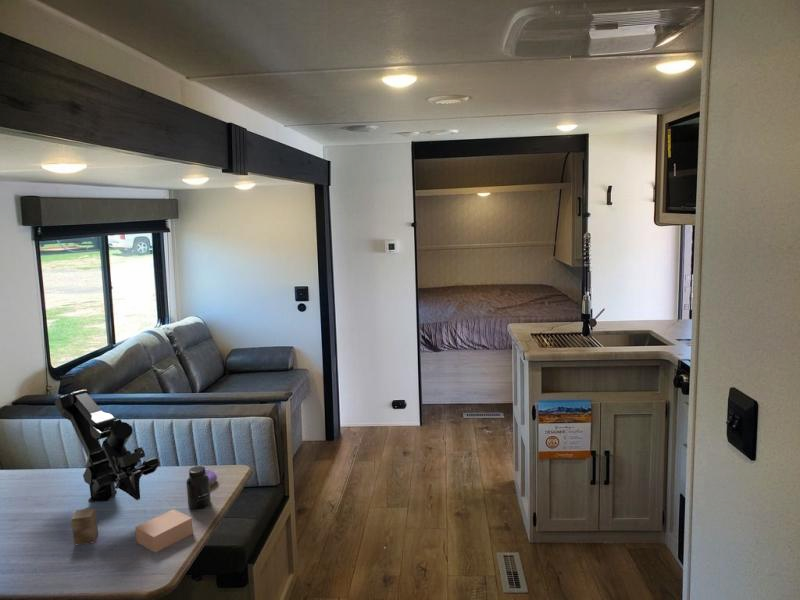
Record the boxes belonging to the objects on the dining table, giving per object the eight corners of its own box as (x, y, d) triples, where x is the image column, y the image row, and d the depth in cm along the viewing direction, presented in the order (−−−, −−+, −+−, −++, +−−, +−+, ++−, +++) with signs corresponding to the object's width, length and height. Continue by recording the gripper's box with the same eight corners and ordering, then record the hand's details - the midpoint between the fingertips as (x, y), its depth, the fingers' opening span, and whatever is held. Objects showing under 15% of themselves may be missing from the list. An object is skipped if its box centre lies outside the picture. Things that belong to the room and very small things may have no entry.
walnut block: (74, 545, 173) (71, 519, 172) (79, 536, 178) (76, 510, 177) (93, 542, 174) (90, 516, 173) (98, 533, 179) (95, 507, 178)
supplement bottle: (204, 511, 190) (201, 474, 188) (184, 509, 192) (180, 473, 189) (215, 500, 197) (212, 465, 195) (195, 498, 198) (192, 463, 196)
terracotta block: (135, 527, 173) (153, 537, 168) (173, 509, 183) (191, 517, 177) (137, 543, 174) (155, 553, 169) (174, 524, 184) (193, 533, 178)
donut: (187, 479, 211) (189, 466, 211) (215, 480, 214) (217, 467, 214) (186, 492, 202) (188, 478, 201) (215, 493, 205) (217, 479, 204)
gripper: (92, 452, 177) (114, 499, 172) (154, 432, 191) (176, 475, 186) (83, 470, 183) (104, 516, 178) (143, 449, 197) (164, 492, 192)
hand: (138, 499), depth 183 cm, fingers closed
